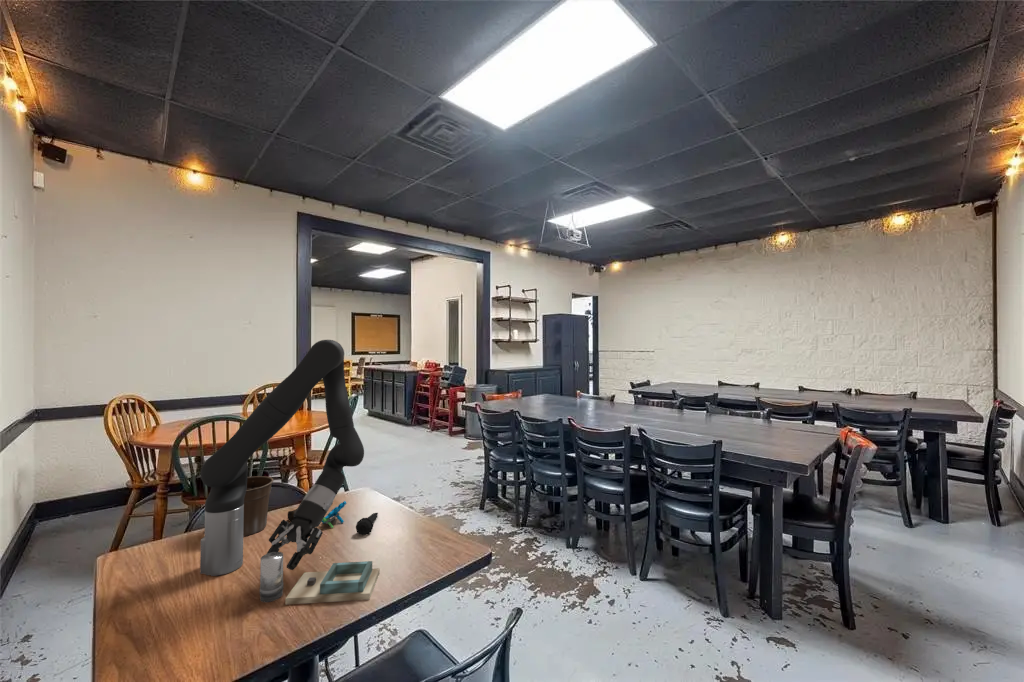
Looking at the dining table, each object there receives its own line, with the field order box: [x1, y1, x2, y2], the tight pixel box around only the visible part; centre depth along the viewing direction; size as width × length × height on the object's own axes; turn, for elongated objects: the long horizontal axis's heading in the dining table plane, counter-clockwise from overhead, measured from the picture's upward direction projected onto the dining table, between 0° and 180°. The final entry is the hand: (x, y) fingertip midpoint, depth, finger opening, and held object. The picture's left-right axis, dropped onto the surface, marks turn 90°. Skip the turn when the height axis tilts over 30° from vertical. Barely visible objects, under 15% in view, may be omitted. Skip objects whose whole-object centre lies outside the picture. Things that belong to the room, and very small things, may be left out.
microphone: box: [355, 512, 379, 536], centre depth 148 cm, size 6×6×20 cm
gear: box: [321, 500, 348, 529], centre depth 150 cm, size 11×6×10 cm
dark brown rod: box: [287, 502, 334, 522], centre depth 160 cm, size 19×4×5 cm, turn 153°
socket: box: [259, 551, 284, 603], centre depth 105 cm, size 5×5×10 cm
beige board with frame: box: [284, 560, 381, 606], centre depth 109 cm, size 20×12×4 cm, turn 96°
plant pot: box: [243, 475, 274, 537], centre depth 144 cm, size 16×16×16 cm
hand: (277, 565), depth 107 cm, fingers open, 8 cm apart
